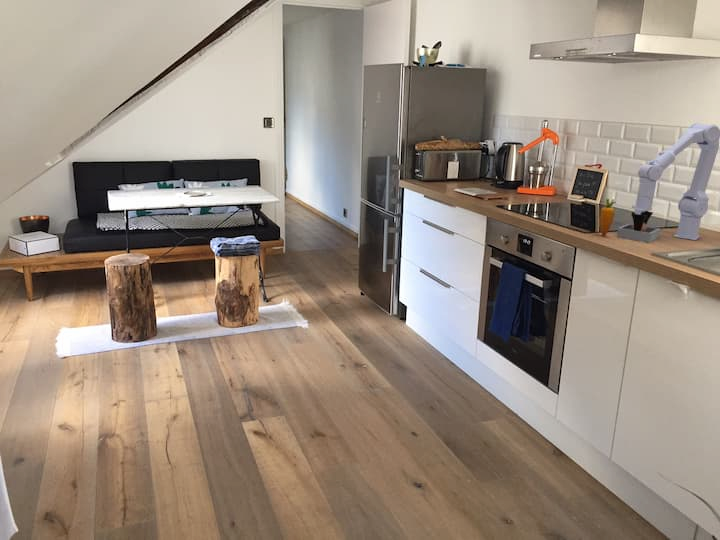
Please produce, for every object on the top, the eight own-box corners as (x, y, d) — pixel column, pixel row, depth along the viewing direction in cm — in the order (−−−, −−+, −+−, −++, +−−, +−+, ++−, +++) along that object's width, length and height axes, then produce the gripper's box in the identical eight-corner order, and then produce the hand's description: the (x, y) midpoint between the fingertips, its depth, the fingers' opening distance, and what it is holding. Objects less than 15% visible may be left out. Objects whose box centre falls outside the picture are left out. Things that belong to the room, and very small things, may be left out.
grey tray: (627, 231, 244) (628, 223, 243) (658, 237, 237) (660, 228, 236) (616, 236, 233) (618, 228, 232) (649, 242, 226) (651, 233, 225)
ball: (633, 232, 238) (635, 219, 237) (646, 234, 235) (649, 221, 234) (629, 233, 234) (632, 221, 233) (643, 236, 231) (645, 223, 230)
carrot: (607, 235, 236) (613, 197, 232) (612, 237, 231) (619, 199, 227) (594, 234, 236) (601, 196, 232) (600, 237, 231) (606, 198, 227)
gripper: (639, 192, 238) (633, 226, 242) (629, 196, 227) (622, 231, 231) (658, 195, 234) (652, 229, 238) (648, 198, 223) (642, 234, 227)
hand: (638, 230), depth 234 cm, fingers closed on ball, 5 cm apart
